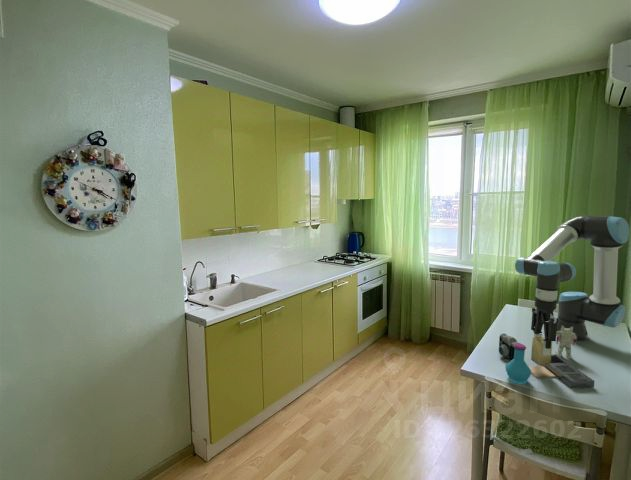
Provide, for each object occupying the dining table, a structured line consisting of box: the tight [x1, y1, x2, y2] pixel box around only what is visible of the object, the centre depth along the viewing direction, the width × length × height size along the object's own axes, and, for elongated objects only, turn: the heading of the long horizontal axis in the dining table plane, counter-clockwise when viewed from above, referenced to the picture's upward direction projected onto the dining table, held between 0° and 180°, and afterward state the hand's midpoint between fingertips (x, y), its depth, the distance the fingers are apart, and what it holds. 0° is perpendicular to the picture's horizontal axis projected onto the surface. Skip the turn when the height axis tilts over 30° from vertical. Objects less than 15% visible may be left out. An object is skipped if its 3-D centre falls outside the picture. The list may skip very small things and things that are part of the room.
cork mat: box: [528, 365, 557, 379], centre depth 148 cm, size 8×8×1 cm
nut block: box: [530, 336, 553, 366], centre depth 147 cm, size 5×5×10 cm
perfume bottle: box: [505, 342, 532, 385], centre depth 142 cm, size 9×9×15 cm
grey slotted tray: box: [541, 353, 595, 389], centre depth 147 cm, size 9×22×3 cm, turn 0°
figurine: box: [555, 326, 578, 359], centre depth 160 cm, size 8×8×15 cm
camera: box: [498, 332, 522, 361], centre depth 162 cm, size 15×7×10 cm, turn 2°
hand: (541, 351), depth 147 cm, fingers closed on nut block, 5 cm apart
